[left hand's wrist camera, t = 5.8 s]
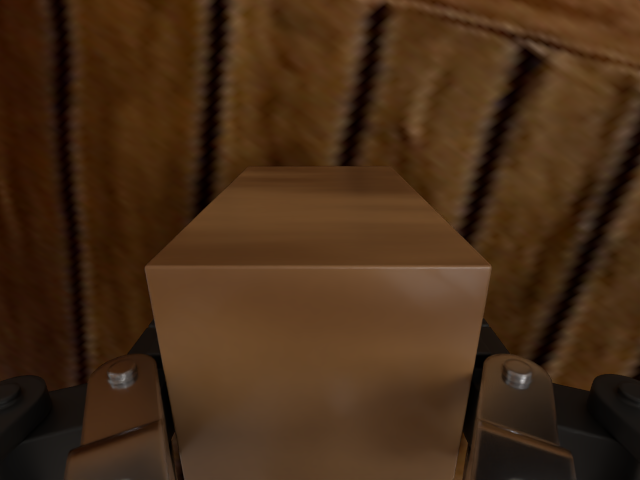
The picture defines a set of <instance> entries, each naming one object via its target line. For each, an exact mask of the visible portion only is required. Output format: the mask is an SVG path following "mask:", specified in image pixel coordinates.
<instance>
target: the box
mask: <svg viewBox="0 0 640 480" xmlns="http://www.w3.org/2000/svg"><path fill="white" fill-rule="evenodd" d="M491 270H492V267H491V265H490V264H489V263H488V262H487V261H486V260H485V259H484V258H483V257H482V256H481V255H480V254H479V253H478V252H477V251H476V250H475V249H474V248H473V247H472V246H471V245H470V244H469V243H468V242H467V241H466V240H465V239H464V238H463V237H462V236H461V235H460V234H459V233H458V232H457V231H456V230H455V229H454V228H453V227H452V226H451V225H450V224H449V223H448V222H447V221H446V220H444V219H443V218H442V217H441V216H440V215H439V214H438V213H437V212H436V211H435V210H434V209H433V208H432V207H431V206H430V205H429V204H428V203H427V202H426V201H425V200H424V199H423V198H422V197H421V196H420V195H419V194H418V193H417V192H416V191H415V190H414V189H413V188H412V187H411V186H410V185H409V184H408V183H407V182H406V181H405V180H404V179H403V178H402V177H401V176H400V175H399V174H398V173H397V172H396V171H395V170H394V169H393V168H392V167H390V166H249V167H247V168H246V169H245V170H244V171H243V172H242V173H241V174H240V175H239V176H238V177H237V178H236V179H235V180H234V181H233V182H232V183H231V184H230V185H228V186H227V187H226V188H225V189H224V190H223V191H222V192H221V193H220V194H219V195H218V196H217V197H216V198H215V199H214V200H213V201H212V202H211V203H210V204H209V205H208V206H207V207H206V208H205V209H204V210H203V211H202V212H201V213H199V214H198V215H197V216H196V217H195V218H194V219H193V220H192V221H191V222H190V223H189V224H188V225H187V226H186V227H185V228H184V229H183V230H182V231H181V232H180V233H179V234H178V235H177V236H176V237H175V238H174V239H173V240H172V241H170V242H169V243H168V244H167V245H166V246H165V247H164V248H163V249H162V250H161V251H160V252H159V253H158V254H157V255H156V256H155V257H154V258H153V259H152V260H151V261H150V262H149V263H148V264H147V265H146V266H145V274H146V279H147V284H148V289H149V295H150V300H151V305H152V311H153V316H154V321H155V327H156V332H157V337H158V342H159V348H160V353H161V358H162V364H163V369H164V374H165V380H166V385H167V390H168V395H169V401H170V406H171V411H172V417H173V422H174V427H175V433H176V438H177V443H178V448H179V454H180V459H181V464H182V470H183V475H184V480H453V479H454V474H455V468H456V463H457V457H458V452H459V446H460V441H461V435H462V430H463V424H464V419H465V413H466V408H467V402H468V397H469V391H470V386H471V380H472V375H473V369H474V364H475V358H476V353H477V347H478V341H479V336H480V330H481V325H482V319H483V314H484V308H485V303H486V297H487V292H488V286H489V281H490V275H491Z"/></svg>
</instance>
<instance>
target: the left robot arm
mask: <svg viewBox="0 0 640 480" xmlns="http://www.w3.org/2000/svg"><path fill="white" fill-rule="evenodd" d="M462 431H463V433H464V435H465V437H466V440H467V442H468V446H467V452H466V458H465V465H464V472H463V479H462V480H640V381H638V380H636V379H633V378H630V377H626V376H622V375H615V374H604V375H600V376H597V377H596V378H595V379H594V381H593V384H592V387H591V390H590V391H586V390H581V389H577V388H572V387H568V386H563V385H558V384H554V383H552V380H551V378H550V376H549V375H548V373H547V372H546V371H545V370H544V369H543V368H541V367H540V366H539V365H537V364H536V363H534V362H532V361H530V360H528V359H526V358H523V357H520V356H517V355H512V354H510V353H509V352H508V350H507V349H506V348H505V346H504V345H503V344H502V342H501V341H500V340H499V338H498V337H497V336H496V334H495V333H494V331H493V330H492V329H491V327H489V325H488V323H487V322H486V321H485V319H484V318H483V319H482V325H481V330H480V336H479V341H478V347H477V353H476V358H475V364H474V369H473V375H472V380H471V386H470V391H469V397H468V402H467V408H466V413H465V419H464V424H463V430H462ZM174 432H175V427H174V422H173V417H172V411H171V406H170V401H169V395H168V390H167V385H166V380H165V374H164V369H163V364H162V358H161V353H160V348H159V342H158V337H157V332H156V327H155V321H154V319H153V321H152V322H151V323H150V325H149V328H147V329H146V330H145V331H144V333H143V334H142V335H141V337H140V338H139V339H138V341H137V342H136V343H135V345H134V346H133V347H132V349H131V350H130V351H129V353H128V354H127V355H123V356H120V357H117V358H114V359H112V360H110V361H108V362H106V363H104V364H103V365H101V366H100V367H99V368H97V369H96V370H95V371H94V372H93V373H92V375H91V376H90V378H89V380H88V383H86V384H82V385H78V386H73V387H69V388H64V389H59V390H55V391H50V392H48V389H47V386H46V383H45V381H44V380H43V379H42V378H41V377H38V376H33V375H26V376H18V377H13V378H10V379H7V380H4V381H1V382H0V480H178V479H177V472H176V465H175V458H174V452H173V446H172V441H171V438H172V436H173V434H174Z"/></svg>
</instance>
